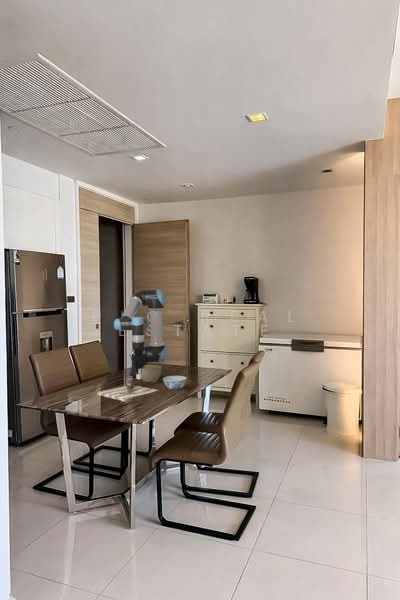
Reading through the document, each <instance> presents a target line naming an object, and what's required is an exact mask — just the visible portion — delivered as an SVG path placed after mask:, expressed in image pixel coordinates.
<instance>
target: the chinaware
mask: <svg viewBox="0 0 400 600" xmlns="http://www.w3.org/2000/svg"><path fill="white" fill-rule="evenodd" d="M187 379H188V378H187V376H183V375H169V376H168V375H167V376H164V377H163V378H162V380H163V384H164V385H165V387H166V388H167V389H169V390H179V389H180V390H181V389H182V388H183V387H185V384H186V382H187Z"/></svg>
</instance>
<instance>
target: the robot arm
mask: <svg viewBox="0 0 400 600" xmlns="http://www.w3.org/2000/svg"><path fill="white" fill-rule="evenodd" d="M166 305H167V298H166V293H165V291H164V290H162V289H141V290H139V291H137V292H135V293H134V294H132V295H131V297H130V299H129V301H128V305H127V306H126V308H125V310H124V312H123V314H122V315H121V317H120V318H115V320H114V321H113V328H114V330H115V331H131V341H132V342H131V343H132V344H131V346H132V347H131V353H129V356H130V360H131V367H130V370H129V374H128V376H129V375H130V376H132V377H136V378H135V379H137V380H142V378H141V373H142V368H143V367H144V365H148V363H164V362H166V361H167V357H168V346H166V343H164V341H163V340H164V339H163V337H164V336H163V310H164V308H165V307H164V306H166ZM143 306H145V307H147V309H148V310H149V316H150V321H149V320H148V319H147V318H144V317H143V316H136V314H137V312H138V310H139V309H140V308H141V307H143ZM149 326H150V343H149V345H148V344H145V331H146V330H147V329H148V328H149Z"/></svg>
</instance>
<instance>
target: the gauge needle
mask: <svg viewBox="0 0 400 600" xmlns="http://www.w3.org/2000/svg"><path fill="white" fill-rule="evenodd" d="M134 382H135V381H134V378H133V377H129V376H126V377H125V386H126V387H127V389H128V392H131V387H133V386H134V385H135V383H134Z"/></svg>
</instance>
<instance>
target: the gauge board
mask: <svg viewBox="0 0 400 600" xmlns="http://www.w3.org/2000/svg"><path fill="white" fill-rule="evenodd" d="M159 391H160V390H159V389H154V388H150V387H144V386H140V385H135V384H134V386H133V387H131V392H128V389H127V387H126V385H122V386H118V387H114V388H109V389H105V390H101V391H97V392H96V395H97V396H101V397H105V398H109V399H113V400H117V401H121V402H130V401H133V399H132V398H135V397H136V398H137V397H141V396H143V395H147V394H152V393H154V392H159Z"/></svg>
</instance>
